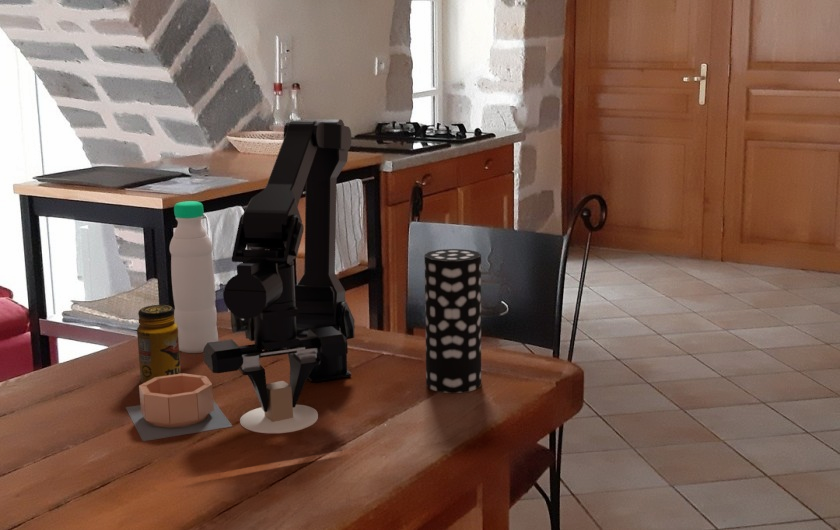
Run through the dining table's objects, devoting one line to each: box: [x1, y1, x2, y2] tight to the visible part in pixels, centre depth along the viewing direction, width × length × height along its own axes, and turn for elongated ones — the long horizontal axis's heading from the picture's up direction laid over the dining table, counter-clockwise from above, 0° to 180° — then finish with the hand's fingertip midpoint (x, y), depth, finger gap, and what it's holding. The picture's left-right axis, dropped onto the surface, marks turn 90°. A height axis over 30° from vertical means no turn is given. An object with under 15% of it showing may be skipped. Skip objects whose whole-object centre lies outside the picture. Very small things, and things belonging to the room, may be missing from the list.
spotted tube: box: [424, 248, 482, 394], centre depth 160 cm, size 8×8×20 cm
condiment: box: [136, 304, 181, 384], centre depth 163 cm, size 7×8×12 cm
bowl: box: [138, 372, 214, 428], centre depth 148 cm, size 9×9×5 cm
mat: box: [125, 400, 234, 442], centre depth 149 cm, size 12×14×1 cm
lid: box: [239, 380, 319, 434], centre depth 147 cm, size 11×11×6 cm
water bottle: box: [169, 200, 219, 354], centre depth 179 cm, size 7×7×25 cm
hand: (278, 408), depth 147 cm, fingers open, 4 cm apart
